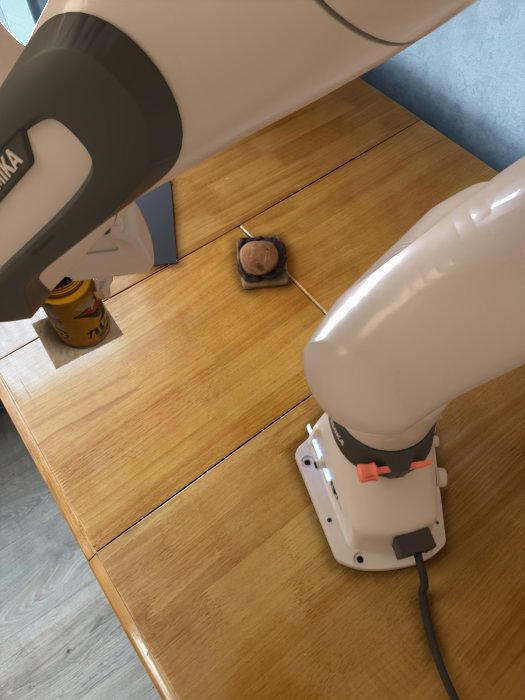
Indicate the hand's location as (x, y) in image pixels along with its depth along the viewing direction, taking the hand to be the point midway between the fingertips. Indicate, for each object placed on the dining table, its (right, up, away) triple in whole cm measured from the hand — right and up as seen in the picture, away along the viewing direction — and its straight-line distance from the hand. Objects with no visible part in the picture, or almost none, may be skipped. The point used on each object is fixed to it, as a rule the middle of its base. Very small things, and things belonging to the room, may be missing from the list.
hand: (70, 298), depth 58 cm
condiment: (-1, -3, +5) cm, 6 cm away
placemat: (-3, +16, +34) cm, 38 cm away
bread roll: (+21, +9, +30) cm, 38 cm away
